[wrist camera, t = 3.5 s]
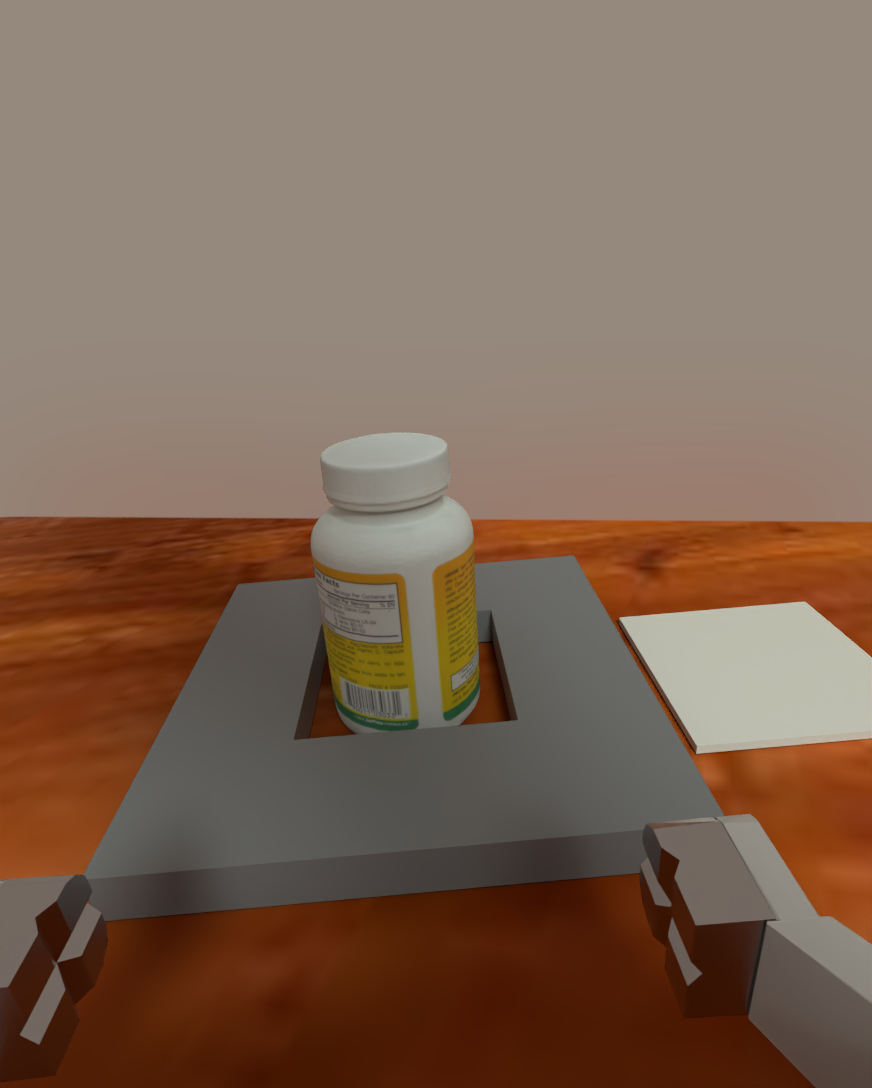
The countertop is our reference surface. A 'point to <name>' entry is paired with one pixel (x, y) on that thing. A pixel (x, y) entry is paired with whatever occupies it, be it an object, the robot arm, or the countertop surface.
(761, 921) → the robot arm
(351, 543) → the supplement bottle
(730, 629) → the mat
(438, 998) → the countertop surface
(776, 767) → the countertop surface
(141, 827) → the housing plate
